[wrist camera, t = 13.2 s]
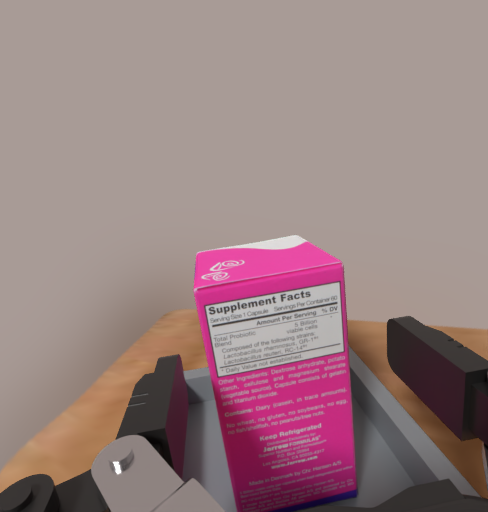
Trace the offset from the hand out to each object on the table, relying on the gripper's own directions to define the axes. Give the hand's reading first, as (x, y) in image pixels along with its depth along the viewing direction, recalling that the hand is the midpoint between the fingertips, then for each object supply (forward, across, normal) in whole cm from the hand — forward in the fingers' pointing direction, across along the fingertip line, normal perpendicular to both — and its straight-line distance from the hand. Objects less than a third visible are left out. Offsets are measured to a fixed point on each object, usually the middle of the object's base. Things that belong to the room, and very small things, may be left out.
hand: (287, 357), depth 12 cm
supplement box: (+3, 0, +8) cm, 9 cm away
